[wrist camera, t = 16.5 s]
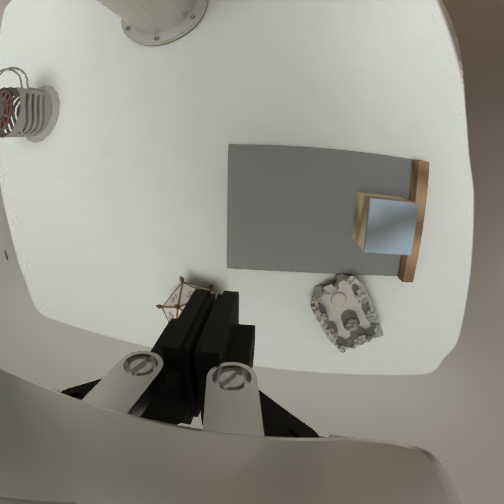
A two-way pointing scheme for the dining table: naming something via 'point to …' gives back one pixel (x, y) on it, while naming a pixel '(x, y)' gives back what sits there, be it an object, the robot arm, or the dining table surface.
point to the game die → (180, 299)
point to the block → (384, 223)
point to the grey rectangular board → (306, 208)
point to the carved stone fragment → (346, 312)
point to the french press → (28, 110)
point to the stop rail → (418, 196)
